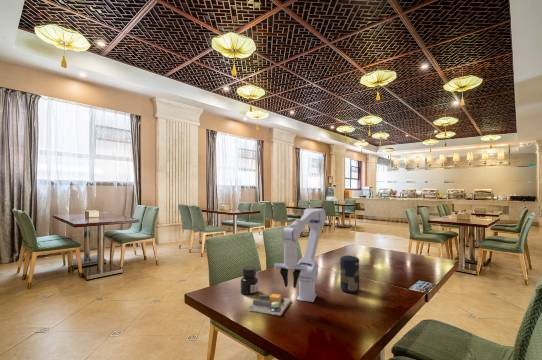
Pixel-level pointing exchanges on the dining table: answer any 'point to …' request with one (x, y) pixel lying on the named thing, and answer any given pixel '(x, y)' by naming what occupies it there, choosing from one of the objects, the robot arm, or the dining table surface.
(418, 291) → the dining table surface
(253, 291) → the ink bottle
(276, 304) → the button
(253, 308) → the panel
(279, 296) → the toggle
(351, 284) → the canister
